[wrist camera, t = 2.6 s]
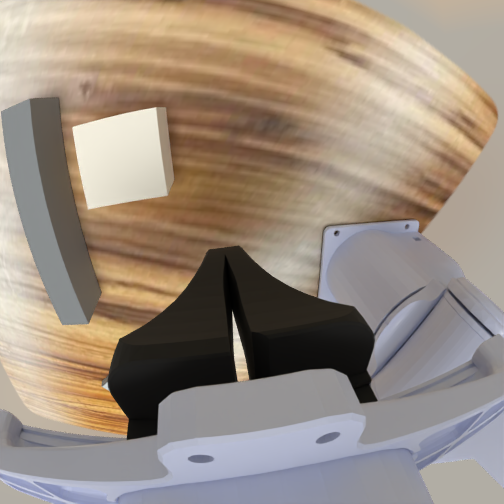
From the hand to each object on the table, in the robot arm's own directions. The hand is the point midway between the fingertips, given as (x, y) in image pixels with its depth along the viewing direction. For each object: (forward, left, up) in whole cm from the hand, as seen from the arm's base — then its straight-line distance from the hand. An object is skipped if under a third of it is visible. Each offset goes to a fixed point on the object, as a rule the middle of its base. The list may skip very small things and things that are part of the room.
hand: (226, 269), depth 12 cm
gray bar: (+12, -1, -9) cm, 15 cm away
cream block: (+5, -4, -10) cm, 12 cm away
